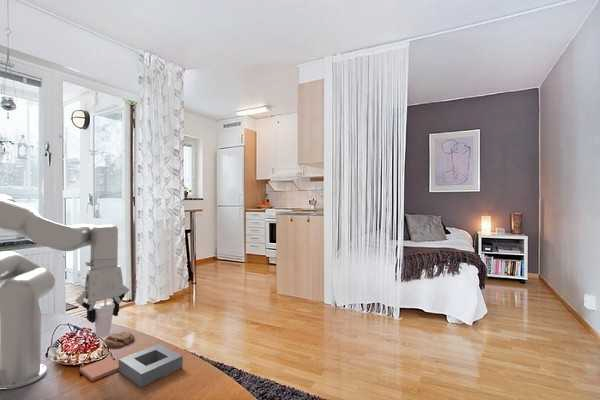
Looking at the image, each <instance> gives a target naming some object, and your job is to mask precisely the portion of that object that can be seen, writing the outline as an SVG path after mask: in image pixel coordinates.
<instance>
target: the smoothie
mask: <svg viewBox="0 0 600 400" xmlns="http://www.w3.org/2000/svg"><path fill="white" fill-rule="evenodd" d="M112 302H113V301H111V302H110V301H108V302H107V299H106V300H103V302H100V303H99V302H98V303H95V306H94V308H93V309H94V310H95V322H94V327H95V334H96V335H95V336H96V338H105V337H106V338H107V337H108V336H109V335H111V328H112V321H113V317H114V315H113V309H114V308H115V304H114V303H112Z"/></svg>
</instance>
